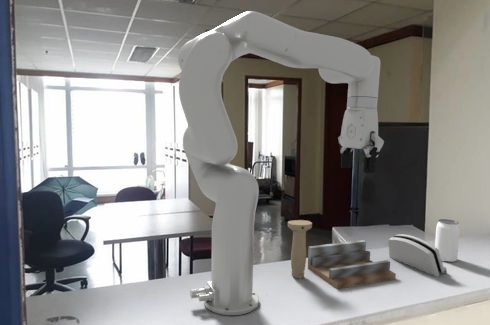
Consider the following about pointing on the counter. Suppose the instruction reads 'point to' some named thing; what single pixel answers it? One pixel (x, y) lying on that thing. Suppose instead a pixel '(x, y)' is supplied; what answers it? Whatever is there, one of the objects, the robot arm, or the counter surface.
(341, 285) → the track
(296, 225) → the handle
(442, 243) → the can
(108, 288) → the counter surface
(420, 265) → the grey curved slotted block
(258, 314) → the counter surface
